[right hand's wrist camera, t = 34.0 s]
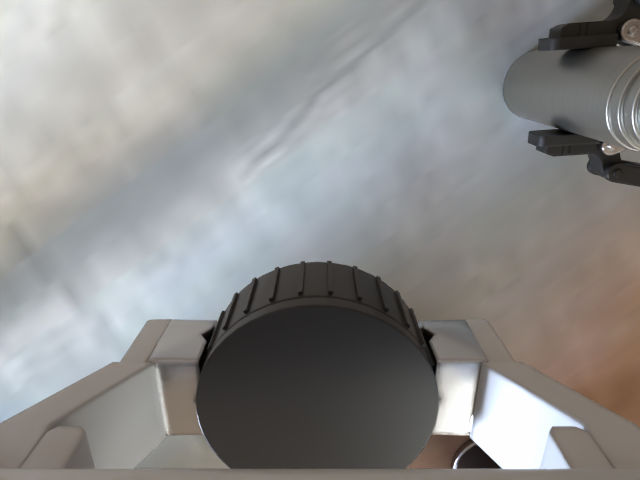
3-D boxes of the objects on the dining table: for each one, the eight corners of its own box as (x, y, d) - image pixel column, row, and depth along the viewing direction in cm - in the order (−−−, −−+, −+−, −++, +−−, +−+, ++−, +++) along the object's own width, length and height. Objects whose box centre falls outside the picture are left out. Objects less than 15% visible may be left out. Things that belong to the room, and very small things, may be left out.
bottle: (531, 35, 33) (778, 10, 15) (583, 71, 34) (872, 87, 16) (489, 97, 34) (667, 140, 17) (540, 130, 35) (759, 203, 18)
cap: (300, 461, 11) (297, 532, 10) (169, 336, 10) (139, 393, 8) (461, 368, 10) (488, 429, 9) (339, 214, 9) (343, 251, 7)
